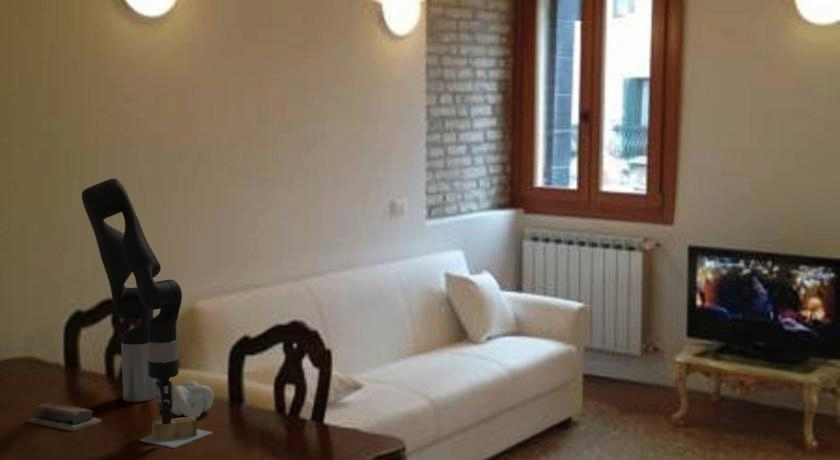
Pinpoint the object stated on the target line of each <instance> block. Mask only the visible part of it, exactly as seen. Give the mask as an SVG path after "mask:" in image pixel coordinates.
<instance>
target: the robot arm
mask: <svg viewBox="0 0 840 460" xmlns="http://www.w3.org/2000/svg"><path fill="white" fill-rule="evenodd" d="M81 200H82V205H83V208H84V209H85V210H84V211H85V213H86V215H87V218H88V221H89V223H90V225H91V227H92V231H93V233H94V235H95V240H96V243H97V248H98V250H99V252H98V253H99V255H100V256H99V257H100V259H101V262H102V264H103V267H104V271H105V273H106V276H107V279H108V283H109V284H108V285H109V287H110V292H111V299H112V303H113V308H114V312H115V314H116V316H117V317H118V318H119V319H124V320H140V322H139V324H137V325H136V326H134V327H132V328H129V329H127V330H124V331H123V332H121V333H120V341H121V343H120V344H121V369H122V370H121V371H122V372H121V373H122V394H123V396H122V397H123V399H122V400H124V401H125V402H130V403H131V402H133V403H137V402H139V403H140V402H148V401H150V400H154V399H155V398H156V397H157V399H158V412H159V413H158V414H159V415H160V416H161V420H162V423H163V424H170V423H171V419H172V413H171V412H172V410H173V409H172V405H173V389H174V388H173V383H172V380H170V379H171V378H175V377H177V376H178V375H179V369H180V368H179V349H178V341H177V322H178V319H179V313H180V309H181V305H182V300H183V292H182V288H181V286H180V284H179V283H178V282H177V281H176V280H173V279H164V280H159V281H155V280H154V278H156V277H157V276H158V274H159V273H160V272H161V270H162V269H161V268H162V267H161V264H160V262H159V260H158V258H157V257H156V255H155V253H154V252H153V250H152V248H151V246H150V243H149V242H148V240H147V239H146V236H145V234H144V231H143V228H142V226H141V222H139V221H140V220H139V218H138V215H137V214H136V211H135V209H134V206H133V203H132V201H131V200H130V197H129V195H128V193H127V191H126V189H125V187H124V185H123V184H122V182H120V180H119V179H117V178H116V177H113V178H109V179H106V180H105V181H102V182H99V183H97V184H94V185H92V186H89V187H87V188H85V189H84V190H82V193H81ZM120 213H122V216H123V219H124V232H122V231H120V230H117V229H116V228H114V227H112V226H111V225H109V224H108V223H107V222H106V221H105V219H107V218H111V217H112V216H115V215H118V214H120ZM132 274H133V276H134V281H135V283H136V287H126V286H125V284H126V282H127V280H128V279H129V278H130V276H131V275H132ZM155 310H159V313H158V314H157V315H156V316H154V311H155Z"/></svg>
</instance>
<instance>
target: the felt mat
mask: <svg viewBox="0 0 840 460" xmlns="http://www.w3.org/2000/svg"><path fill="white" fill-rule="evenodd" d="M211 435H214V433H213V431H208V430H204V429H199V428H197V436H188V437H179V438H169V439H160V440H153V437H152V434H151V435H149V436H146V437H143V438H141V439H140V440H139V441H140V442H143V443H148V444H154V445H156V446H157V445H158V446H160V447H161V446H162V447H167V448H170V449H176V448H179V447H182V446H184V445H188V444H190V443H192V442H195V441H198V440H200V439H203V438H205V437H209V436H211Z"/></svg>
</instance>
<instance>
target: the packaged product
mask: <svg viewBox="0 0 840 460" xmlns="http://www.w3.org/2000/svg"><path fill="white" fill-rule="evenodd" d="M33 411H34V413H33V417H29V418H28V419H29V420H28V422H29V423H31V424H35V423H37V424H36V425H40V426H44V425H45V426H44V427H50V428H53V429H58V430H63V429H64V430H65V431H69V432H77V431H80V430H83V429H86V428H89V427H91V426H93V425H98V424H101V423H102V418H98V417H93V414H94V412H93V410H91V409H88V408H84V407H80V406H79V407H78V406H73V405H69V404H65V403H60V402H54V401H52V402H51V401H48V402H45V403H41V404H39V405H36V406H35V407H34V408H33ZM82 428H83V429H82ZM76 430H77V431H76Z"/></svg>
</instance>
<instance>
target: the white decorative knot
mask: <svg viewBox="0 0 840 460" xmlns="http://www.w3.org/2000/svg"><path fill="white" fill-rule="evenodd" d="M214 399H215V395H214V392H213V390H212V389H211V388H210V387H209V386H208V385H205V384H204V385H203V384H199V383H198V382H197V381H195V380H188V381H186V382H184V383H183V384H182V385H176V386H175V387H174V388H173V389H172V409H171V410H172V413H174V414H175V416H178V417H180V416H184V417H194V416H195V419H198V418H200V416H201V414H202V413H205V412H206V411H208V410H209V409H210V408H211V407H212V406H213V403H214Z"/></svg>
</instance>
